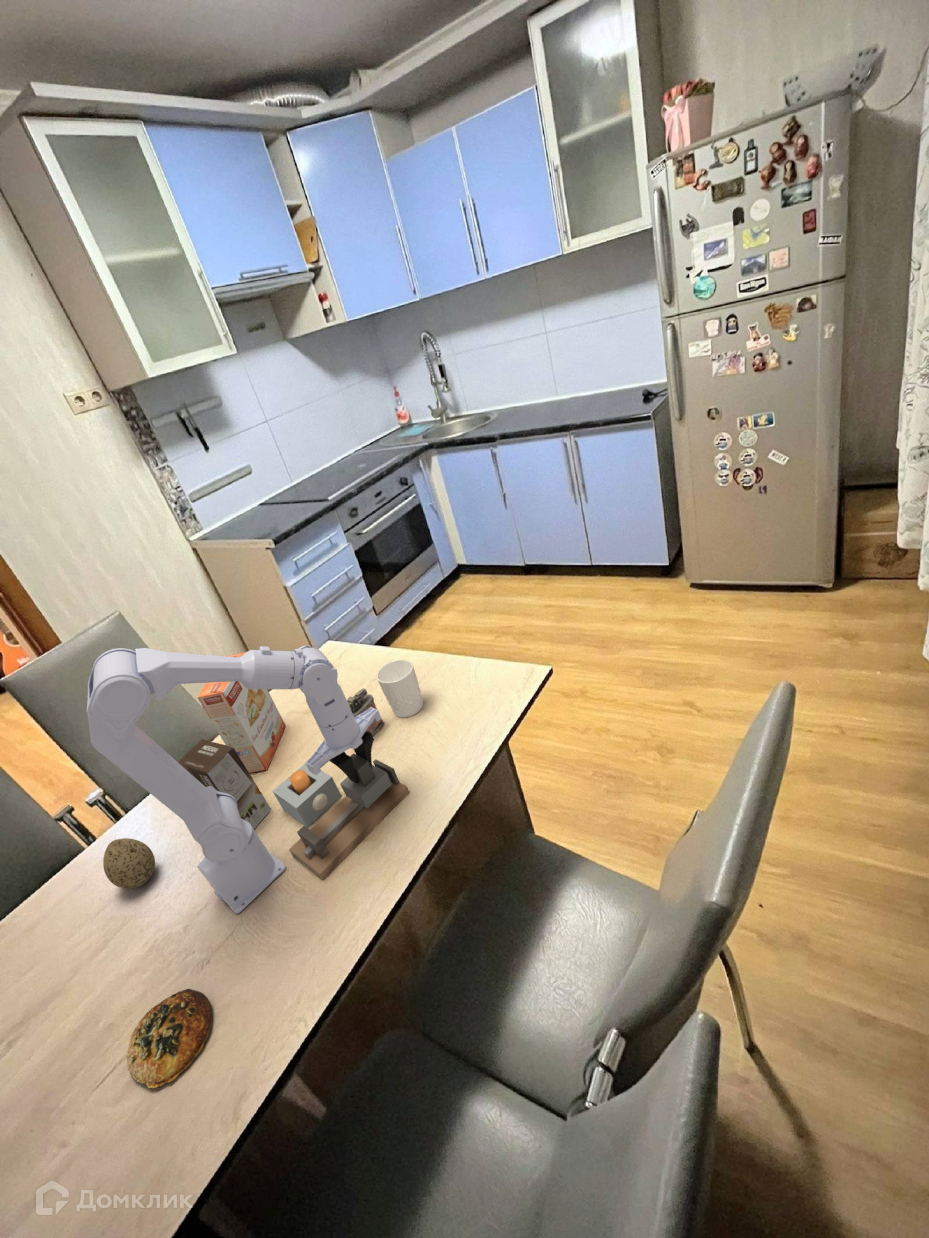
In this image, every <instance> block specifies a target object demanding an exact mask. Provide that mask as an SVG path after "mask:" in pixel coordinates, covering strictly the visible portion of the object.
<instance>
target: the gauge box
mask: <svg viewBox="0 0 929 1238" xmlns="http://www.w3.org/2000/svg"><path fill="white" fill-rule="evenodd" d="M298 770H304V771H305V772H306V774H307V776H308V777H309V779H310V781H311V783H312V785H311V786H310V787H309V788H308V789H306V790H305V791H304V792H303V793H302V794H301V795H300V796H299V795H298V794H297V793H296V791H295V789H294V787H293V785H292V784H291V782H290V776H288V777H287V778H286V779H285V780H284V781H282V782H281V783H280V784H279V785H278V786H277V787H276V788H274V789H273V790H272V794H274V796H275V798H276V800H277V802H278V803H279V805H280V807H281V809H282V810H283V811H285V812H286V813H287V814H289V816H291V817H292V818H294V819H295V820H297V821H298V822H299V823H300V824H302V826H306V827H307V828H308V827H309V826H311V824H313V823H314V822H315V821H316V820H317V819H318V818H320V816H321V815H322V814H324V813H325V812H326V811H327V810H328V809H329V808H330V807H331V806H332V805H333V804H334V803H335V802H336V801H338V799H340V797H342V794H341V792H340V789H339V788H338V786H337V784H336V782H335V780H334V778H333V776H331V775H330V774H328V773H326V772H325V771H323V770H322V769H321V772H320V773H318V774H317V775H315V774H313V773H312V772H310V771H309V769H308V767H307V765H306V763H305V762H304V764H302V766H300V767H299V768H298V769H297V770H296V771H298Z"/></svg>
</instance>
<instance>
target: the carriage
mask: <svg viewBox="0 0 929 1238" xmlns="http://www.w3.org/2000/svg"><path fill="white" fill-rule="evenodd" d="M349 756H350V757H352V761H353V765H354V769H355V771H356V773H357V775H358V777H359V779H360V782H359V783H357V784H356V783H354V782H353V781H351V780H350V779H349V778H348V776H346V778H345V779H343V780H342V781H341V782H340V783H339V784H340V787H341V789H342V791H343V793H344V795H345V796H347V797H349V798H351V799H352V800H354V801H356V802H357V803H359V804H360V805H362V806H364V807H365V808H368V807H369V806H370V805H371V804H372V803H373V802H374V801H375V800H376V799H377V798H379V797H380V796H381V795H382V794H383V793H384V792H385V791H386V790H387V789H388V788H389V787H390V786H391V785H392V783H391V781H390V779H389V776H388V774H387V772H385V771H383V770H381V769H379V768H378V767H376V766H375V765H374V764H372V769H371V766H370V764H369V762H368V761H367V760H365V759H364V758H362V757H360V756H358V755H356V753H355V752H354V753H353V752H352V754H351V755H349Z"/></svg>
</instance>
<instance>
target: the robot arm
mask: <svg viewBox="0 0 929 1238" xmlns="http://www.w3.org/2000/svg"><path fill="white" fill-rule="evenodd" d="M226 656H227V655H225V656H224V655H223V656H222V655H211V654H201V653H200V654H198V653H187V652H175V651H174V652H172V651H163V650H158V649H153V648H148V647H140V648H135V650H133V649H129V648H124V647H119V648H111V649H109V650H106V651H105V652H102V654H100V655H99V656H98V657H97V658H96V659H95V661H94V663H93V665H92V669H91V672H90V675H89V678H88V681H87V702H86V703H87V704H86V705H87V707H86V714H87V720H88V727H89V728H88V729H89V736H90V737H89V738H90V744H91V745H92V747H93V748H94V749H95V750H96V751H98V752H99V753H100V754H101V755H102V756H104V757H105V758H106V759H107V760H108V761H110V762H111V763H112V764H113V765H115V766H116V767H117V768H118V769H119V770H121V771H123V772H124V774H126V776H128V777H129V778H131V779H132V780H133V781H134V782H135V783H137V785H139V786H141V787H142V789H144V790H145V791H147V792H148V793H149V794H150V795H151V796H152V797H154V798H155V799H156V800H158V801H159V802H160V803H161V804H162V805H164V806H165V807H166V808H167V809H169V810H170V811H172V813H174V814H175V815H176V816H178V817H179V818H180V819H181V820H182V821H183V822H184V824H185V826H186V828H187V830H188V831H189V833H190V834H191V837H192V838H193V840H194V841H196V843H197V844H199V845H200V847H201V850H202V854H203V856H204V858H203V859H202V860H201V861H200V862H199V863H198V865H197V866H196V867H197V868H198V870H199V872H200V873H201V874H202V875H203V877H204V878H205V879H206V881H207V883H208V884H209V885H210V886H211V887H212V889H214V891H213V892H214V894H215V895H216V896H217V898H218V899H219V900H220V901H222V900H223V901H224V903H225V904H227V906H228V907H230V908H231V910H232V911H234V913H235V914H237V915H238V914H240V913H241V912H242V911H243V910H244V909H246V907H247V906H248V905H249V904H250V903H252V901H253V900H255V899H256V897H258V896H259V895H260V894H261V893H262V892H263V891H264V890H265V889H266V888H267V887H268V886H270V884H272V883H273V881H275V879H277V877H279V875H281V874H282V873H283V872H284V871H285V870H286V868H287V867H286V864H284V863H283V862H282V861H281V860H280V859H278V858H277V857H276V856H274V854H273V853H272V852H270V851H269V850H268V849H267V847H266V846H265V844H264V842H263V841H262V839H261V838H260V837H259V835H258V834H257V832H256V831H255V829H253V827H252V826H251V824H250V823H249V822H247V821H245V820H243V819H242V818H241V817H240V814H239V811H238V806H237V801H236V799H235V798H234V797H233V796H232V795H230V794H227V793H222V792H219V791H217V790H216V789H214V788H213V787H212V786H209V787H205V786H204V785H203V784H201V783H200V782H199V781H198V780H197V779H196V778H195V777H194V776H192V775H191V774H190V773H189V772H188V771H187V770H186V769H185V768H183V767H182V766H181V765H180V764H179V763H178V761H177V760H176V759H174V758H173V757H172V756H171V755H170V754H169V753H168V752H166V750H164V748H162V747H161V746H160V745H159V744H158V743H157V742H155V741H154V740H153V739H152V738H151V737H150V736H149V735H148V734H146V733H145V732H144V730H142V729H141V728H140V727H138V726H137V723H138V720H139V718H140V717H141V716H142V714H143V713H144V712H145V711H146V709H147V707H148V705H149V704H150V701H151V696H152V695H153V694H155V698H156V701H157V702H159V701H161V700H162V699H163V698H164V697H165V696H167V694H169V693H170V692H171V691H172V690H173V689H174V688H176V687H177V686H178V685H182V684H184V685H186V684H187V685H189V684H206V683H211V682H233V681H239V682H241V683H242V684H243V685H244V686H245V687H246V688H247V689H267V690H297V689H299V690H300V691H301V692H302V693H303V694H304V696H305V702H306V704H307V706H308V708H309V710H310V712H311V715H312V717H313V718H314V720H315V723H316V724H317V727H318V729H319V730H320V733H321V734H322V736H323V738H324V739H323V741H322V742H321V743H320V745H319V746H318V747H317V748H316V750H315V752H314V753H313V754H312V755H311V756H310V758H308V760H306V762H304V764H305V763H306V765H307V767H308V769H309V771H310V772H312V773H313V774H315V775H317V774H318V773H320V772H321V770H322V769H321V768H323V767H324V766H325V765H327V763H328V762H330V763H332V764H334V765H335V766H336V767H337V768H338V769H340V770H341V772H343V774H345V775H346V777H348V778H349V779H350V780H351V781H353V782H354V783H356V784H357V783H359V782H360V779H359V777H358V775H357V773H356V771H355V769H354V765H353V761H352V757H350V756H351V755H348V754H346V751H348V750H350V749H351V750H353V752H354V754H356V755H358V756H360V757H362V758H364V759H365V760H367V761H368V762H369V764H370V766H371V769H372V765H373V760H372V750H373V749H372V748H373V744H374V739H375V737H373V735H372V734H371V733H369V732H367V728H368V727H369V726H370V725H371V724H372V723H373V722H374V721H376V722H378V721H379V720H380V719H382V716H381V714H380V712H379V709H378V708H377V709H374V708H372V707H370V708H369V709H368V710H367V711H365V712H363V713H362V714H360V715H358V716H356V717H354V715H353V713H352V711H351V709H350V706H349V704H348V702H347V698H346V696H345V693H344V691H343V689H342V687H341V686H342V685H340V684H339V683H338V674H339V673H338V669H337V668H335V667H334V665H333V663H332V662H331V661H330V660H329V659H328V657H326V655H325V654H324V653H323V652H322V651H321V650H320V649H319V648H317V647H315V646H309V645H308V644H307V645H303V646H300V647H298V648H294V650H293V651H291V650H271V648H270V647H269V646H268V645H267V646H265V645H264V646H263V645H261V646H259V649H250V650H248V651H246V653H245V654H244V655H242V656H241V657H239V658H238V657H226Z"/></svg>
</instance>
